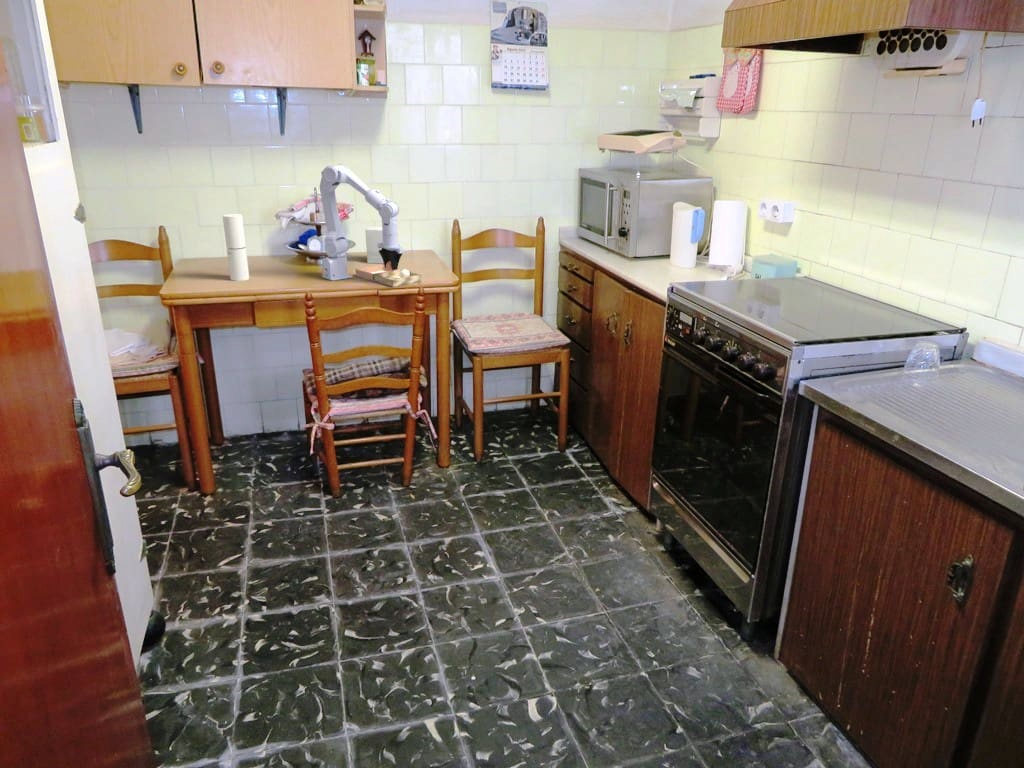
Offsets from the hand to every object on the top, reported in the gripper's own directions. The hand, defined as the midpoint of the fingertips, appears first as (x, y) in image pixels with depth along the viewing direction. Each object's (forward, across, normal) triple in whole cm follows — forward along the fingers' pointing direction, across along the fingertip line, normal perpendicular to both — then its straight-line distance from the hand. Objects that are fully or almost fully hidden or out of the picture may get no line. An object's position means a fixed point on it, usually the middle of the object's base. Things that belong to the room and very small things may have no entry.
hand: (391, 268), depth 287 cm
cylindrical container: (+6, +44, +42) cm, 61 cm away
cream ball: (+3, 0, -6) cm, 7 cm away
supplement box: (+6, +35, -19) cm, 40 cm away
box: (+6, 0, -3) cm, 6 cm away
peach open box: (+6, +13, -3) cm, 14 cm away
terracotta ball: (-1, 0, 0) cm, 1 cm away
